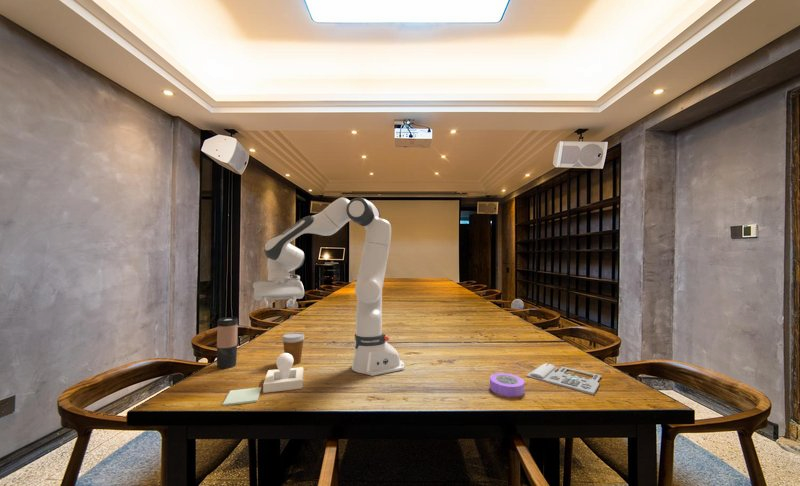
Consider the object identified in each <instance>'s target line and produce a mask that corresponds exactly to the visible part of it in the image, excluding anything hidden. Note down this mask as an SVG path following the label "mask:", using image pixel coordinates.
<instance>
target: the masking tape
mask: <svg viewBox="0 0 800 486" xmlns="http://www.w3.org/2000/svg"><path fill="white" fill-rule="evenodd" d="M489 389H490V390H491V392H493V393H494V394H496V395H499V396H502V397H503V396H504V397H507V398H516V397H517V398H518V397H521V396H524V394H525V380H524V379H523V378H521V377H520V376H518V375H515V374H512V373H508V372H507V373H506V372H498V373H497V372H496V373H494V374H491V375H490V377H489Z"/></svg>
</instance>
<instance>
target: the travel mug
mask: <svg viewBox="0 0 800 486" xmlns="http://www.w3.org/2000/svg"><path fill="white" fill-rule="evenodd" d="M238 320H239V319H238V317H236V316H229V317H228V316H227V317H221V318H219V319H218V320H217V328H216V330H217V331H216V333H217V334H216V368H217V369H219V370H226V369H231V368H234V367H236V366H237V359H238V358H237V354H238V326H239V325H238Z"/></svg>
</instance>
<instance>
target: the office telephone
mask: <svg viewBox="0 0 800 486" xmlns="http://www.w3.org/2000/svg"><path fill="white" fill-rule="evenodd" d="M557 369H558V367H557V366H555V365H554V364H551V363H549V362H548V363H547V362H546V363H543V364H541V365H539V366H538V367H536V368H535V369H533V370H532V371H530V372H529V373H527V374H526V377H527V378H530V377H531V379H534V380H537V381H541V382H544V383H547V384H548V383H549V384H553V385H557V386H559V387H563V388H567V389H571V390H574V391H578V392H581V393H584V394H588V395H592V396H594V395H595V394H596V392H597V390H598V389H599V386H600V383H599V382H600V380H601V379H602V378H603V376H602V375H600V374H597V373H592V372H587V371H584V370H578V369H576V368H569V367H566V366H561V368H559V370H557ZM556 370H557V371H556ZM567 370H569V371H567ZM555 371H556V372H555ZM572 371H574V372H573V373H576V372H578V373H577V374H580V373H583V374H582V375H584V374H586V375H585V376H589V375H590V377H591V378H589V377H585V376H584V377H583V376H581V375H576V374H572V373H571V374H570V373H568V372H572ZM592 376H593V377H592ZM600 378H601V379H600ZM598 381H599V382H598Z"/></svg>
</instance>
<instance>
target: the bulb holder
mask: <svg viewBox="0 0 800 486" xmlns="http://www.w3.org/2000/svg"><path fill="white" fill-rule="evenodd" d="M303 385H304V367H303V366H300V367H291V369H290V372H289V376H288V379H281V376H280V371H279V369H278V368H277V369H269V370H267V372H266V375H265V379H264V381H263V389H262V393H263V394H264V393H265V394H266V393H274V392H281V391H291V390H292V391H293V390H301V389H303Z"/></svg>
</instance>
